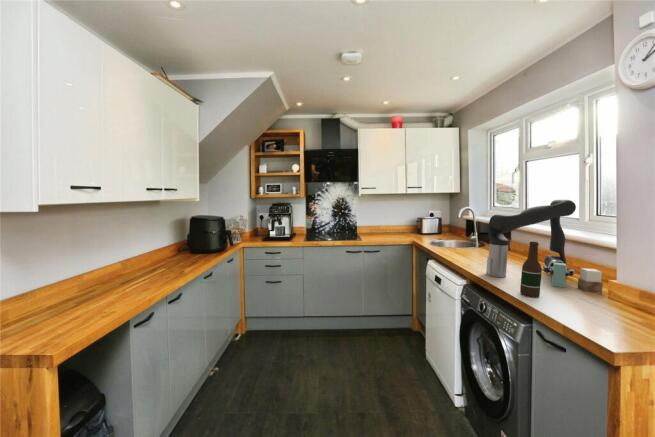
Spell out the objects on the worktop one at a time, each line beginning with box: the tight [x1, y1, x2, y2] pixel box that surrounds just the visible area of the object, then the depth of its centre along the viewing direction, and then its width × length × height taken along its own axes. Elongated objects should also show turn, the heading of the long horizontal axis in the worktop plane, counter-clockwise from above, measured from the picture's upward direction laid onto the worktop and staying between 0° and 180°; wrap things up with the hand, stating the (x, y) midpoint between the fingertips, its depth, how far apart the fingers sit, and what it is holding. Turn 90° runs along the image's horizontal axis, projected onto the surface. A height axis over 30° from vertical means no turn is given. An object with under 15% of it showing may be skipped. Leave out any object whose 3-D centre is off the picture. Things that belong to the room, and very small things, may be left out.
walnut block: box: [577, 277, 604, 294], centre depth 164 cm, size 7×7×5 cm
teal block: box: [551, 262, 567, 288], centre depth 170 cm, size 5×5×11 cm
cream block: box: [579, 267, 603, 282], centre depth 163 cm, size 6×6×5 cm
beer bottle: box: [519, 241, 543, 299], centre depth 151 cm, size 8×8×24 cm
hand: (559, 273), depth 167 cm, fingers closed on teal block, 5 cm apart
